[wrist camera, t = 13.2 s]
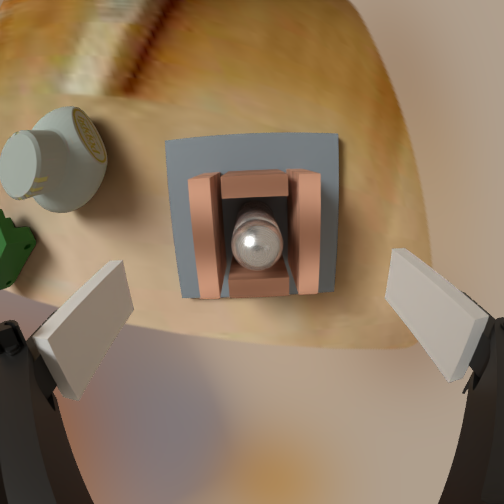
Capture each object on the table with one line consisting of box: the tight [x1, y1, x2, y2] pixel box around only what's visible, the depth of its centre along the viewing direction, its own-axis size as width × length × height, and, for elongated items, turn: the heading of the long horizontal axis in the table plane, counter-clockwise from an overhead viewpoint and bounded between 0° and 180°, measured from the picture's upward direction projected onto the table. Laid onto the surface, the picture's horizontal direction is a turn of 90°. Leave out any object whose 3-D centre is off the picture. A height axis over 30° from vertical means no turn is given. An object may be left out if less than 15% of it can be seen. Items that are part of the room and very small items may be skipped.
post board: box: [165, 133, 339, 298], centre depth 27 cm, size 16×16×1 cm
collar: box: [188, 169, 321, 299], centre depth 23 cm, size 9×9×7 cm
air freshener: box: [0, 106, 107, 213], centre depth 21 cm, size 11×8×10 cm
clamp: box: [0, 209, 36, 290], centre depth 26 cm, size 12×6×9 cm, turn 123°
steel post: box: [231, 201, 283, 271], centre depth 22 cm, size 4×4×10 cm
